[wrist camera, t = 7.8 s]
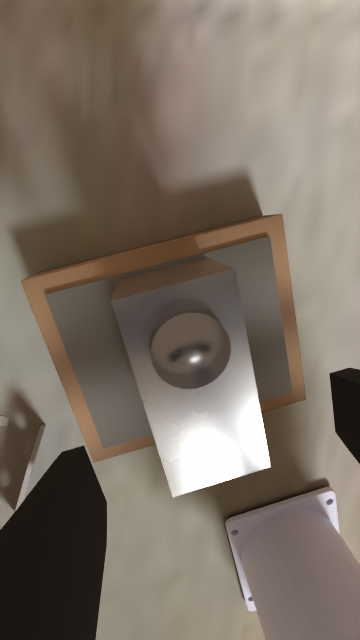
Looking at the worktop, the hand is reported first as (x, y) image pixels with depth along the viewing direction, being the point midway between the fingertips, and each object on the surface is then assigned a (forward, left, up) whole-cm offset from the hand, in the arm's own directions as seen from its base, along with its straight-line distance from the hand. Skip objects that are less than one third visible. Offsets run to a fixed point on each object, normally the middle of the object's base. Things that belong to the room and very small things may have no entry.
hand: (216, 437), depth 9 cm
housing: (0, 0, -7) cm, 7 cm away
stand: (0, 0, -9) cm, 9 cm away
